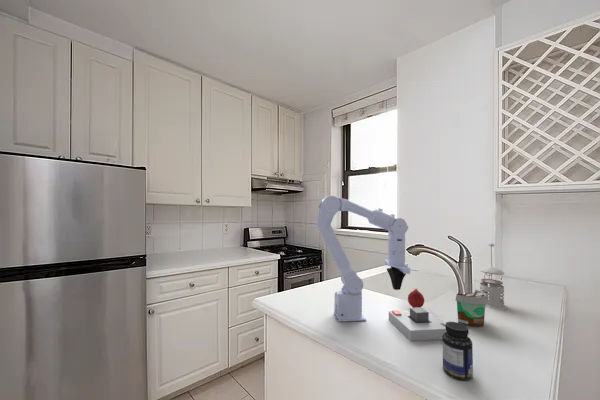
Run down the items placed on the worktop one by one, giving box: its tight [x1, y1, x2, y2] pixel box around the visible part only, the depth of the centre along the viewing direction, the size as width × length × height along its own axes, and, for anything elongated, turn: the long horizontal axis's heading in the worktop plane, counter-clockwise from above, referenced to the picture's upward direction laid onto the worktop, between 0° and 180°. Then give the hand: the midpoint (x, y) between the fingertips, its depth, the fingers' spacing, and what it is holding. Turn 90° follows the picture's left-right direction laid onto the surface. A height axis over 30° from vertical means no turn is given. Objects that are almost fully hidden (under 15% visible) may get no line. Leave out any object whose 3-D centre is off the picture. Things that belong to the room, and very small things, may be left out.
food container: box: [455, 289, 489, 328], centre depth 87 cm, size 12×6×10 cm, turn 118°
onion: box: [407, 287, 425, 308], centre depth 99 cm, size 6×6×8 cm
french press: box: [479, 242, 508, 311], centre depth 105 cm, size 10×12×25 cm
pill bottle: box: [441, 321, 474, 381], centre depth 61 cm, size 6×6×11 cm
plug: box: [409, 307, 430, 323], centre depth 83 cm, size 4×4×6 cm
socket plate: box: [388, 309, 447, 342], centre depth 83 cm, size 14×14×4 cm
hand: (396, 289), depth 92 cm, fingers closed
